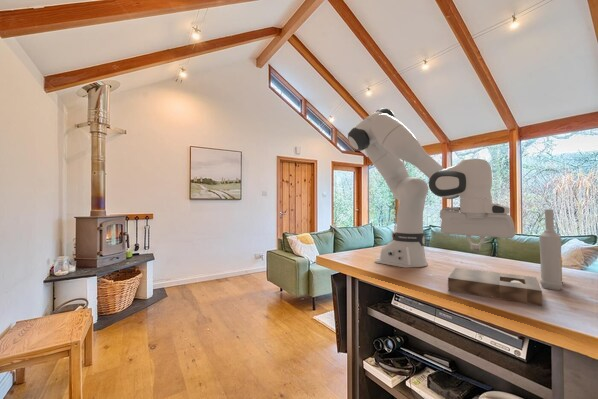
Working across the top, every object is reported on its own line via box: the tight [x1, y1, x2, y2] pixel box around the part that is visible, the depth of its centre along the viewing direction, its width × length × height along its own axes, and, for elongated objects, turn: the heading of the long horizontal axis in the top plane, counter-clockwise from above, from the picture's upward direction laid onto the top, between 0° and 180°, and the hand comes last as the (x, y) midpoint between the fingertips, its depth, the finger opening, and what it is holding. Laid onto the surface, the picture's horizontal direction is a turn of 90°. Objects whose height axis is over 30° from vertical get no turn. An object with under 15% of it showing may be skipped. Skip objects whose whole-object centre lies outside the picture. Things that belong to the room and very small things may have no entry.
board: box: [447, 267, 543, 307], centre depth 84 cm, size 22×16×4 cm
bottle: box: [538, 209, 563, 291], centre depth 86 cm, size 5×5×25 cm
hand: (475, 249), depth 88 cm, fingers closed
